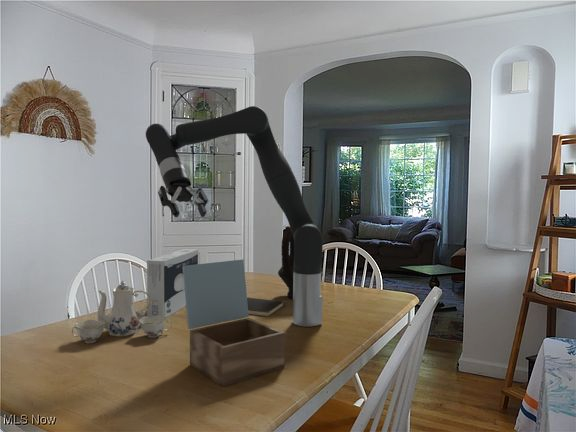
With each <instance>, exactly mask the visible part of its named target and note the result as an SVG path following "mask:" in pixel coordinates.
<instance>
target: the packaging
mask: <svg viewBox="0 0 576 432" xmlns="http://www.w3.org/2000/svg"><path fill="white" fill-rule="evenodd" d="M196 264H199V249H196V248H193V249H191V248H183V249H180V250H176V251H173V252H169V253H168V254H163V255H161V256H157V257H155V258H150V259H148V260H146V287H147V288H146V292H147V293H148V294H149V295H150V298H151V302H150V305H149V306H148V308H147V309H146V310H147V311H146V313H147V315H146V316H147V317H150V318H151V317H152V316H154V315H160V316H162V317H170V316H172V315H174V314H175V313H176V312H179V311H180V310H181V309H184V308H185V307H186V298H185V286H184V274H183V266H187V265H196ZM146 296H147V295H146ZM146 302H147V303H146V306H147V305H148V302H149V298H148V296H147V297H146Z"/></svg>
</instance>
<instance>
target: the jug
mask: <svg viewBox="0 0 576 432" xmlns="http://www.w3.org/2000/svg"><path fill="white" fill-rule="evenodd" d="M293 274H294V237H293V234H292V231H291V228H290V225H287V226H285V230H284V232H283V236H282V238H281V267H280V269H279V270H278V272H277V275H278V276H279V278H280V279H281V280H282V282H283V283H284V284H285V285H286V287H287V288H288V292H287V297H288V298H291V299H293ZM322 277H323V272H322V270H321V278H322Z"/></svg>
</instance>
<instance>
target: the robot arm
mask: <svg viewBox="0 0 576 432" xmlns="http://www.w3.org/2000/svg"><path fill="white" fill-rule="evenodd" d="M240 134H241V135H242V134H244V135H245V134H246V136H247V138H248V139H249V141H250V142H251V145H252V146H253V149H254V150H255V152H256V155H257V157H258V160H259V164H260V168H261V171H262V173H263V177H264V179H265V181H266V184H267V186H268V188H269V190H270V192H271V194H272V196H273V198H274V199H275V202H276V203H277V204H278V206H279V208H280V209H281V211H282V212H283V214H284V216H285V218H286V219H287V221H288V226H290V228H291V231H292V234H293V237H294V274H293V298H292V323H293V324H294V326H299V327H315V326H320V325H322V324H323V295H322V293H321V292H322V290H321V289H322V277H321V271H322V265H323V247H324V246H323V235H322V232H321V230H320V229H319V227H317V225H316V224H315V222H314V220H313V219H312V217H311V216H310V214H309V211H308V210H307V208H306V206H305V203H304V199H303V195H302V192H301V189H300V185H299V183H298V181H297V179H296V177H295V174H294V172H293V170H292V168H291V166H290V164H289V162H288V161H287V159H286V157H285V155H284V154H283V152H282V150H281V149H280V148H279V146H278V144H277V141H276V139H275V136H274V134H273V131H272V128H271V126H270V121H269V118H268V115H267V113H266V111H265V110H264V109H263V108H261V107H259V106H255V105H251V106H248V107H246V108H243V109H240V110H237V111H235V112H232V113H229V114H226V115H221V116H217V117H212V118H208V119H201V120H195V121H190V122H185V123H180V124H177V125H176V127H175V133H174V134H172V135H170V133H169V131H168V129H167V128H166V126H165V125H162V124H161V123H152V124H150V125H149V126H148V127H147V128H146V130H145V138H146V140H147V141H146V142H147V143H148V145H149V148H150V149H151V151H152V152H153V154H154V157H155V161H156V164H157V166H158V169H159V173H160V176H161V179H162V181H163V184H164V185H160V187H159V188H158V192H157V194H158V197H159V201H160V204H161V206H162V207H167V208H169V210H170V212H171V214H172V216H174V218H178V217H179V216H180V210H179V207H178V205H177V203H176V201H177V202H179V203H182V202H184V203H189V204H191V205H192V206H193V205H194V206H195V207H196V208H197V210H198V213H199V214H200V217H201V218H204V217H205V216H206V214H207V209H206V207H207V204H208V202H209V198H208V196H207V195H206V193H205V190H204V188H203V187H198V188H193V186H192V182H191V179H190V177H189V175H188V172H187V170H186V168H185V166H184V163H183V162H182V161H181V158H180V156H179V154H178V152H177V150H180V149H182V148H183V147H185V146H189V145H194V144H195V145H196V144H201V143H205V142H208V141H212V140H215V139H218V138H221V137H225V136H231V135H240ZM168 195H169V196H170V197H171V199H169V197H168ZM192 197H193V199H192Z"/></svg>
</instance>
